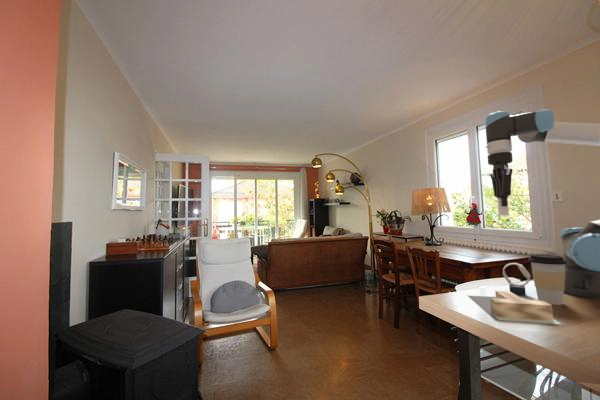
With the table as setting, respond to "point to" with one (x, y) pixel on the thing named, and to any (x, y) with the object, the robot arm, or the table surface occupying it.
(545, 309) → the t block
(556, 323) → the mat
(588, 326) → the table surface
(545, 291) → the coffee cup
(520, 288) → the watch
